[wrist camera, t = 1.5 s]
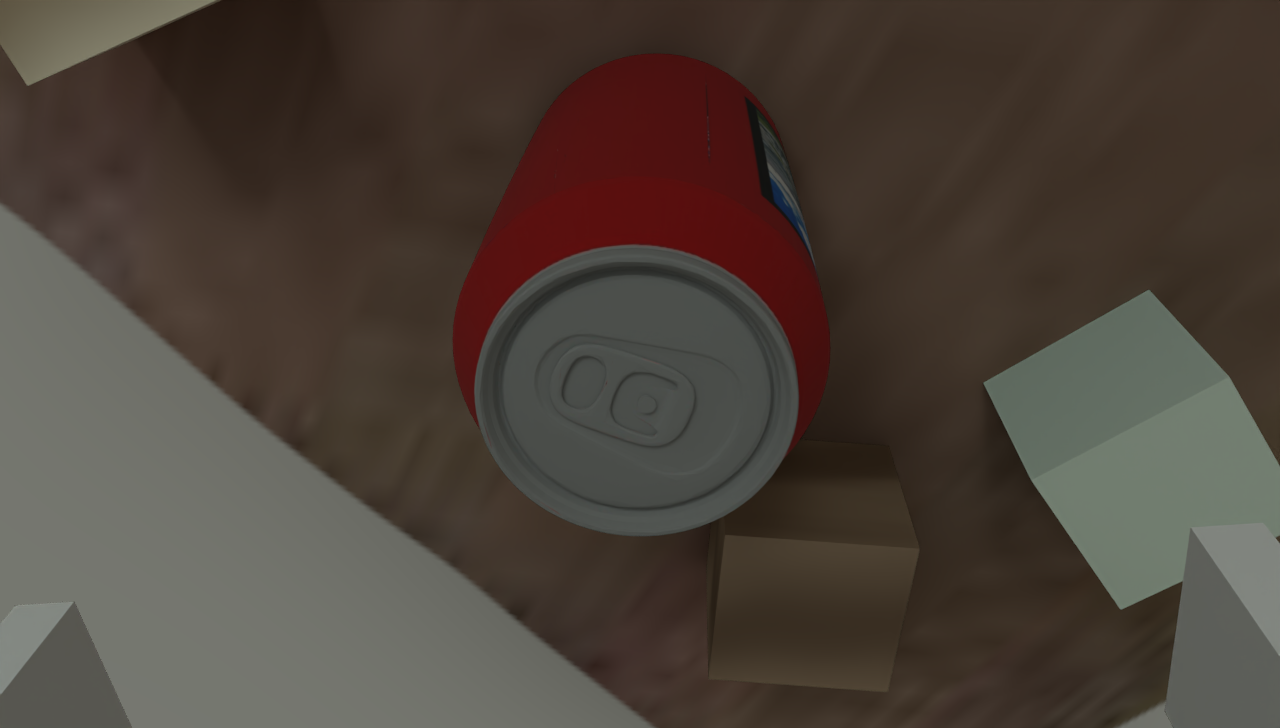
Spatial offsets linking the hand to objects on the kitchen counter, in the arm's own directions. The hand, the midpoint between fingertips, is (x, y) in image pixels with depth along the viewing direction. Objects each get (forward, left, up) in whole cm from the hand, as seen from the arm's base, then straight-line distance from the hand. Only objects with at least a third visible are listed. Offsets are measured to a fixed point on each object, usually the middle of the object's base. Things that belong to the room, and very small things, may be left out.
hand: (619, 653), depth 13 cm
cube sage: (+8, +12, -18) cm, 23 cm away
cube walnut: (+11, +3, -18) cm, 21 cm away
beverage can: (0, 0, -18) cm, 18 cm away
